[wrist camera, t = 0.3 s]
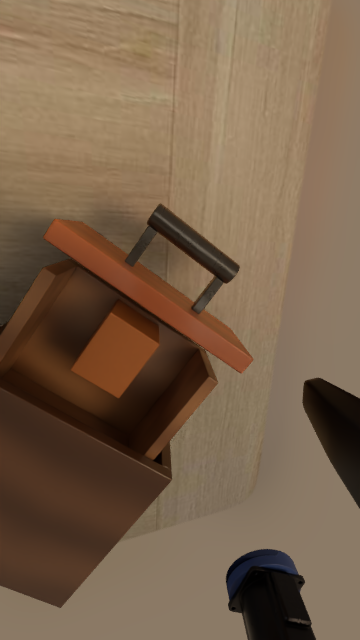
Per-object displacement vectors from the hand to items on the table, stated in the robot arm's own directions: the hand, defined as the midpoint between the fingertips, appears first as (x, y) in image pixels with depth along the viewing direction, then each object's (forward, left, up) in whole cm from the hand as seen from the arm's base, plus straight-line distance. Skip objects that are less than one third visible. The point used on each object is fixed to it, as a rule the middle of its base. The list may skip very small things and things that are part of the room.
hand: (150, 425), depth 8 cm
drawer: (-2, +1, -15) cm, 15 cm away
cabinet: (-14, +4, -16) cm, 21 cm away
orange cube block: (-3, +1, -14) cm, 14 cm away
